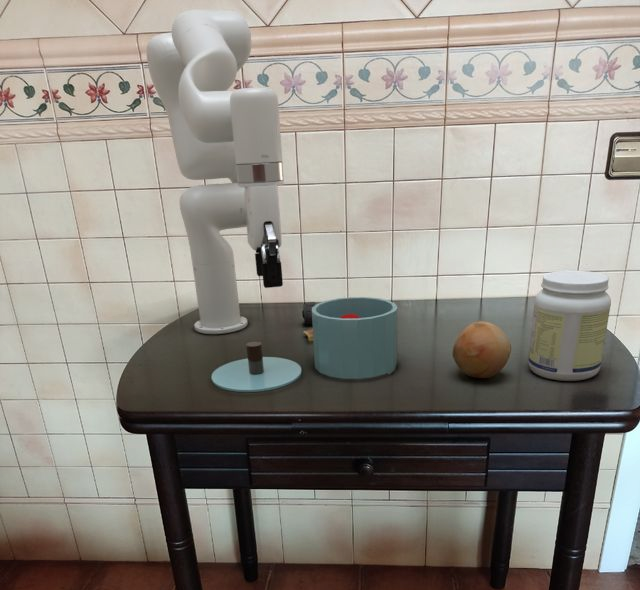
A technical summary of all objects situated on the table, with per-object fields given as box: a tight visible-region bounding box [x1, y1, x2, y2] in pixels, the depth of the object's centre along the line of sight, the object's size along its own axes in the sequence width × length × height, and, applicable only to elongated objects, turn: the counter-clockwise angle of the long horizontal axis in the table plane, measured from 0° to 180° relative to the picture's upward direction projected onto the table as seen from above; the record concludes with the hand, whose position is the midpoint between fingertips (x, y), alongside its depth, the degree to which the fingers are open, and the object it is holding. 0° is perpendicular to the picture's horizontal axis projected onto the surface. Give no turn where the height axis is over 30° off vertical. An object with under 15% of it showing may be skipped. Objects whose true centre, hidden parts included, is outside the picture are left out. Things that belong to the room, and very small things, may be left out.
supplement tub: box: [527, 270, 612, 382], centre depth 104 cm, size 12×12×17 cm
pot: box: [312, 296, 398, 380], centre depth 112 cm, size 16×16×12 cm
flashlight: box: [301, 301, 319, 326], centre depth 140 cm, size 15×5×5 cm, turn 93°
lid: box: [211, 341, 303, 393], centre depth 110 cm, size 17×17×7 cm
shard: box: [303, 328, 314, 343], centre depth 128 cm, size 11×8×2 cm
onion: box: [452, 320, 512, 379], centre depth 105 cm, size 10×10×10 cm
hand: (269, 280), depth 104 cm, fingers open, 9 cm apart
